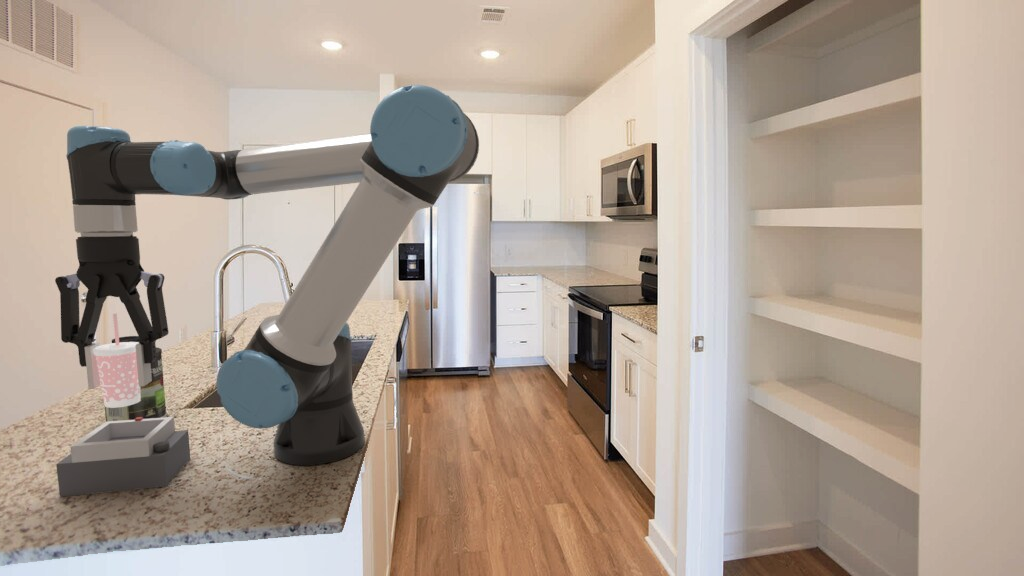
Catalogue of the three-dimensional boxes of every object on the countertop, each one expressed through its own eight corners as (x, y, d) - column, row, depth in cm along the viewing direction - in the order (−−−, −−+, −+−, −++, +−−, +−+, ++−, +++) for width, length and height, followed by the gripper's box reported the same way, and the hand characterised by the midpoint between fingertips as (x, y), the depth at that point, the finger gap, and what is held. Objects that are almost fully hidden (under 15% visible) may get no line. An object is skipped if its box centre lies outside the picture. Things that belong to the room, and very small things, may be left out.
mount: (190, 458, 91) (186, 413, 90) (166, 486, 82) (162, 436, 81) (96, 466, 88) (91, 420, 87) (59, 496, 79) (54, 445, 78)
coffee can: (173, 409, 115) (168, 344, 114) (158, 426, 106) (152, 356, 104) (117, 414, 112) (110, 348, 111) (95, 432, 103) (88, 360, 101)
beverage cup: (94, 402, 83) (85, 313, 82) (141, 393, 88) (134, 309, 86) (102, 412, 79) (93, 319, 78) (151, 402, 84) (143, 313, 82)
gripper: (187, 234, 86) (197, 374, 89) (49, 234, 82) (64, 381, 85) (168, 235, 79) (180, 388, 82) (15, 235, 75) (33, 396, 77)
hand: (121, 384), depth 83 cm, fingers closed on beverage cup, 6 cm apart
